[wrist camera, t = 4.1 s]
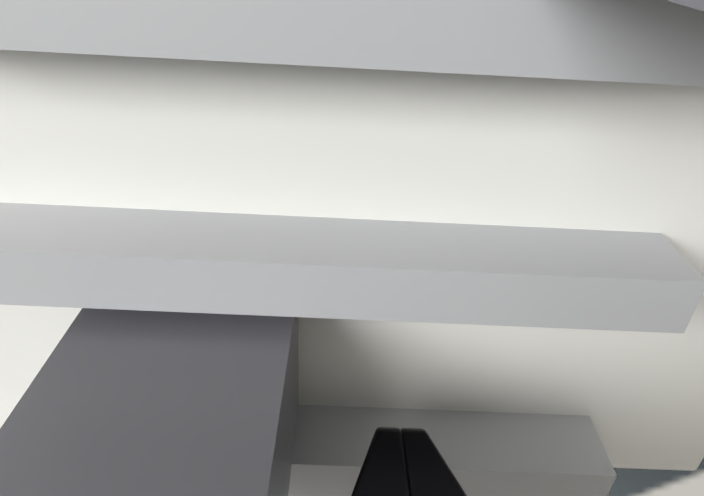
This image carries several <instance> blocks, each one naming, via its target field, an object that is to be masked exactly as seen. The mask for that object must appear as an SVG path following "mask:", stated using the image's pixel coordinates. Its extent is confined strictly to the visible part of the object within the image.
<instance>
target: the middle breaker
mask: <svg viewBox="0 0 704 496" xmlns="http://www.w3.org/2000/svg"><path fill="white" fill-rule="evenodd" d="M667 1H670V2H674V3H677V4H680V5H684V6H687V7H690V8H694V9H697V10H700V11H704V0H667Z"/></svg>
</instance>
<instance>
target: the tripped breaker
mask: <svg viewBox="0 0 704 496" xmlns="http://www.w3.org/2000/svg"><path fill="white" fill-rule="evenodd" d="M297 413H298V317H283V316H259V315H236V314H212V313H188V312H165V311H141V310H117V309H94V308H82V309H81V311H80V312H79V314H78V315H77V317H76V318H75V319H74V321H73V322H72V324H71V325H70V327H69V328H68V330H67V331H66V333H65V334H64V336H63V337H62V339H61V340H60V342H59V343H58V344H57V346H56V347H55V349H54V350H53V352H52V353H51V355H50V356H49V358H48V359H47V361H46V362H45V364H44V365H43V367H42V368H41V369H40V371H39V372H38V374H37V375H36V377H35V378H34V380H33V381H32V383H31V384H30V386H29V387H28V389H27V390H26V391H25V393H24V394H23V396H22V397H21V399H20V400H19V402H18V403H17V405H16V406H15V408H14V409H13V411H12V412H11V414H10V415H9V416H8V418H7V419H6V421H5V422H4V424H3V425H2V427H1V428H0V496H288V492H289V484H290V475H291V466H292V457H293V448H294V440H295V431H296V422H297Z"/></svg>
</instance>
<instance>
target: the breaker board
mask: <svg viewBox="0 0 704 496" xmlns="http://www.w3.org/2000/svg"><path fill="white" fill-rule="evenodd" d="M82 308H94V309H117V310H141V311H165V312H188V313H212V314H236V315H259V316H283V317H298V413H297V422H296V431H295V440H294V448H293V457H292V466H291V475H290V484H289V492H288V496H351V494H352V492H353V489H354V486H355V484H356V481H357V478H358V476H359V473H360V470H361V468H362V465H363V462H364V459H365V457H366V454H367V451H368V449H369V446H370V443H371V441H372V438H373V435H374V433H375V430H376V429H377V428H378V427H398V428H400V429H401V428H422V429H424V430H426V432H427V433H428V434H429V436H430V437H431V439H432V441H433V442H434V444H435V445H436V447H437V449H438V450H439V452H440V453H441V455H442V457H443V458H444V460H445V461H446V463H447V465H448V466H449V468H450V469H451V471H452V473H453V474H454V476H455V477H456V479H457V481H458V482H459V484H460V485H461V487H462V489H463V490H464V492H465V493H466V495H467V496H608V494H609V492H610V490H611V487H612V485H613V483H614V481H615V479H616V477H617V475H616V473H615V471H614V468H632V469H659V470H686V471H696V470H697V468H698V466H699V465H700V463H701V461H702V459H703V458H704V11H700V10H697V9H694V8H690V7H687V6H684V5H680V4H677V3H674V2H670V1H667V0H0V428H1V427H2V425H3V424H4V422H5V421H6V419H7V418H8V416H9V415H10V414H11V412H12V411H13V409H14V408H15V406H16V405H17V403H18V402H19V400H20V399H21V397H22V396H23V394H24V393H25V391H26V390H27V389H28V387H29V386H30V384H31V383H32V381H33V380H34V378H35V377H36V375H37V374H38V372H39V371H40V369H41V368H42V367H43V365H44V364H45V362H46V361H47V359H48V358H49V356H50V355H51V353H52V352H53V350H54V349H55V347H56V346H57V344H58V343H59V342H60V340H61V339H62V337H63V336H64V334H65V333H66V331H67V330H68V328H69V327H70V325H71V324H72V322H73V321H74V319H75V318H76V317H77V315H78V314H79V312H80V311H81V309H82Z"/></svg>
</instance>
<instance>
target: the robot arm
mask: <svg viewBox="0 0 704 496" xmlns="http://www.w3.org/2000/svg"><path fill="white" fill-rule="evenodd" d="M351 496H467V495H466V493H465V492H464V490H463V489H462V487H461V485H460V484H459V482H458V481H457V479H456V477H455V476H454V474H453V473H452V471H451V469H450V468H449V466H448V465H447V463H446V461H445V460H444V458H443V457H442V455H441V453H440V452H439V450H438V449H437V447H436V445H435V444H434V442H433V441H432V439H431V437H430V436H429V434H428V433H427V432H426V430H424V429H422V428H401V429H400V428H398V427H378V428H377V429H376V430H375V433H374V435H373V438H372V441H371V443H370V446H369V449H368V451H367V454H366V457H365V459H364V462H363V465H362V468H361V470H360V473H359V476H358V478H357V481H356V484H355V486H354V489H353V492H352V494H351Z"/></svg>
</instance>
